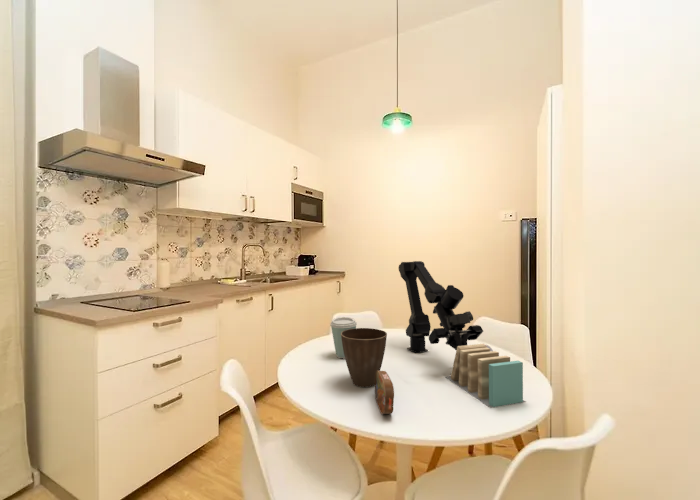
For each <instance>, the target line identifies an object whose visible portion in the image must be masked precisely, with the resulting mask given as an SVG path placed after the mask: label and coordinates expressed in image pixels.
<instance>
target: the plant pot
mask: <svg viewBox="0 0 700 500" xmlns="http://www.w3.org/2000/svg"><path fill="white" fill-rule="evenodd" d="M387 337H388V334H387V332H386V331H385V330H383V329H378V328H371V327H370V328H369V327H358V328H357V327H356V328H355V329H348V330H345V331H343V332H341V339H342V346H343V351H344V356H345V359H344V360H345V363H346V366H347V370H348V373H349V376H350V378H351V381H352V384H353V385H354V386H356V387H358V388H370V387H373V386H375V374H376V371H377V370H378V371H381V368H382V365H383V360H384V357H385V352H386V346H387V345H386V344H387Z"/></svg>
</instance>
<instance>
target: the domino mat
mask: <svg viewBox="0 0 700 500" xmlns="http://www.w3.org/2000/svg"><path fill="white" fill-rule="evenodd" d="M450 377H451V375H447V376H444V378H445V379H446V380H448V381H449V382H450V383H452V384H454V385H456V386H457V387H458V388H460V389H461V390H462V391H464V392H465V393H467V394H469V396H470V395H471V396H472V397H474V398H475V400H478V401H479V402H480V403H482V404H483V405H485V406H487V407H488V408H489V409H494V408H499V407H505V406H507V405H503V406H497V407H492V406H491V405H489V399H480V398H479V397H478V392H473V393H471V392H469V391H468V386H461V385H459V380H456V381H453V380H452V379H451V378H450ZM523 403H527V401H526V400H524V399H523V402H520V403H514V404H509V405H508V406H512V405H518V404H523Z"/></svg>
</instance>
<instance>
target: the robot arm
mask: <svg viewBox="0 0 700 500" xmlns="http://www.w3.org/2000/svg"><path fill="white" fill-rule="evenodd" d="M398 272H399V274H400V277H401V278H402V280H403V281H404V282H405V287H406V293H407V296H408V297H407V298H408V302H409V303H408V304H409V308H410V313H411V314H410V317H409V319H408V326H407V327H406V329H405V335H406V336H407V337H409V343H410V344H409V345H410V346H408V347H407V348H406V349H407V350H409V351H411V352H413V353H415V354H419V353H425V352H429V349H427V348H426V337H428V340H429V343H430V345H436V344H439V343H440V339H444V338H445V339H446V342H445V344H446V345H447V346H450V347H451V348H452V349H454V350H455V351H456V350H457V346H465V345H468V341H475V340H477V339H478V338H479V337H480V336H481V335H482V334H483V332H484V330H483V327H482V326H481V325H479V324H475V325H473V324H472V325H469V326H468V327H467V328H466V324H470V323H471V322H472V321H474V315H473V314H472V313H471V311H469V310H467V311H465V312H462V313H456V314H455V312H454V309H456V308H457V307H458V306H459V304H460V303H461V302H462V301H463V298H464V292H463V291H461V290H460V289H459V288H457V287H455V286H454V285H453V284H452V285H451V284H448V285H447V287H446V289H445V287H444V286H443V285H442V284H440V283H438V282H436V280H434V278H433V276H432V275H431V273H430V272H429V271H428V269H427V268H426V266H425V263H424V261H422V260H421V261H420V260H418V261H417V260H413V261H401V262H400V263H399V264H398ZM417 280H419V282H420V283H421V285H422V286H423V289H424V294H423V295H424V297H425V300H426V301H427V302H428V304H435V306H433V310H432V314H436V315H437V318H438V319H439V326H440V327H437V328H433V329H432V331H431V328H432V327H431V322H430V316H429V315H428V314H426V313H425V312H424V310H423V306H422V303H421V296H420V290H419V286H418V281H417ZM465 328H466V329H465Z"/></svg>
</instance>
